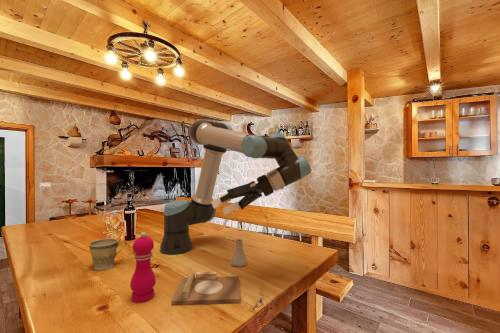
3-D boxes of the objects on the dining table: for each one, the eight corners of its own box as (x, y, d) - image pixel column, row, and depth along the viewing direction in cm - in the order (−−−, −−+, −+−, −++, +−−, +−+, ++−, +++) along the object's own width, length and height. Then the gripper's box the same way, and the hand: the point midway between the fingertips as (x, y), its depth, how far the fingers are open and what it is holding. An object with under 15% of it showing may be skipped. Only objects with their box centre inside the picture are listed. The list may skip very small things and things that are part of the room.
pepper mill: (135, 291, 78) (135, 229, 78) (158, 290, 79) (158, 229, 79) (125, 304, 71) (126, 235, 71) (151, 303, 71) (151, 235, 72)
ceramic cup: (87, 274, 90) (87, 247, 90) (90, 264, 99) (90, 240, 99) (126, 267, 96) (126, 242, 96) (126, 259, 105) (126, 236, 105)
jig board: (171, 305, 70) (171, 294, 70) (182, 281, 85) (182, 272, 85) (240, 303, 72) (240, 292, 72) (239, 279, 87) (239, 270, 87)
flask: (250, 261, 103) (250, 238, 103) (244, 268, 96) (244, 243, 96) (234, 259, 105) (234, 236, 106) (227, 266, 99) (227, 241, 99)
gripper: (271, 181, 76) (211, 212, 76) (277, 199, 99) (231, 222, 99) (261, 162, 79) (203, 191, 79) (269, 183, 102) (224, 206, 102)
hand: (218, 208), depth 89 cm, fingers open, 13 cm apart
